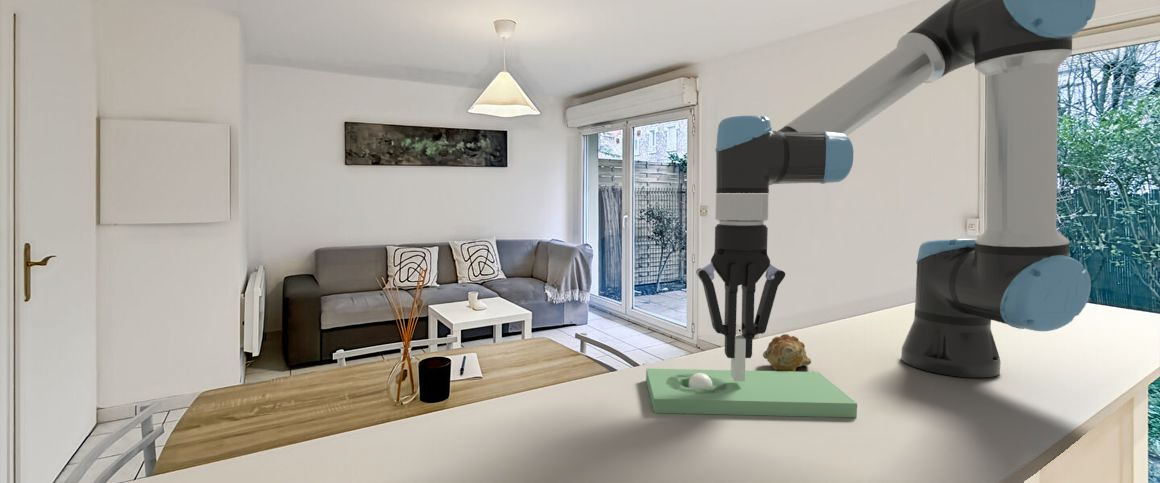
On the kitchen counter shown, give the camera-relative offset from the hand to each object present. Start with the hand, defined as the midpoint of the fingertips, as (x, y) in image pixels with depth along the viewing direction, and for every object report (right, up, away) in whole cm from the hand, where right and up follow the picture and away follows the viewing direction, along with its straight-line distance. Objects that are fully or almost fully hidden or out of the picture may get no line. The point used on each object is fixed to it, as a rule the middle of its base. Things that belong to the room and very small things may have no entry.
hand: (737, 378), depth 86 cm
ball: (-6, -1, 0) cm, 6 cm away
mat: (+1, -3, 0) cm, 3 cm away
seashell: (+13, -2, +14) cm, 19 cm away
